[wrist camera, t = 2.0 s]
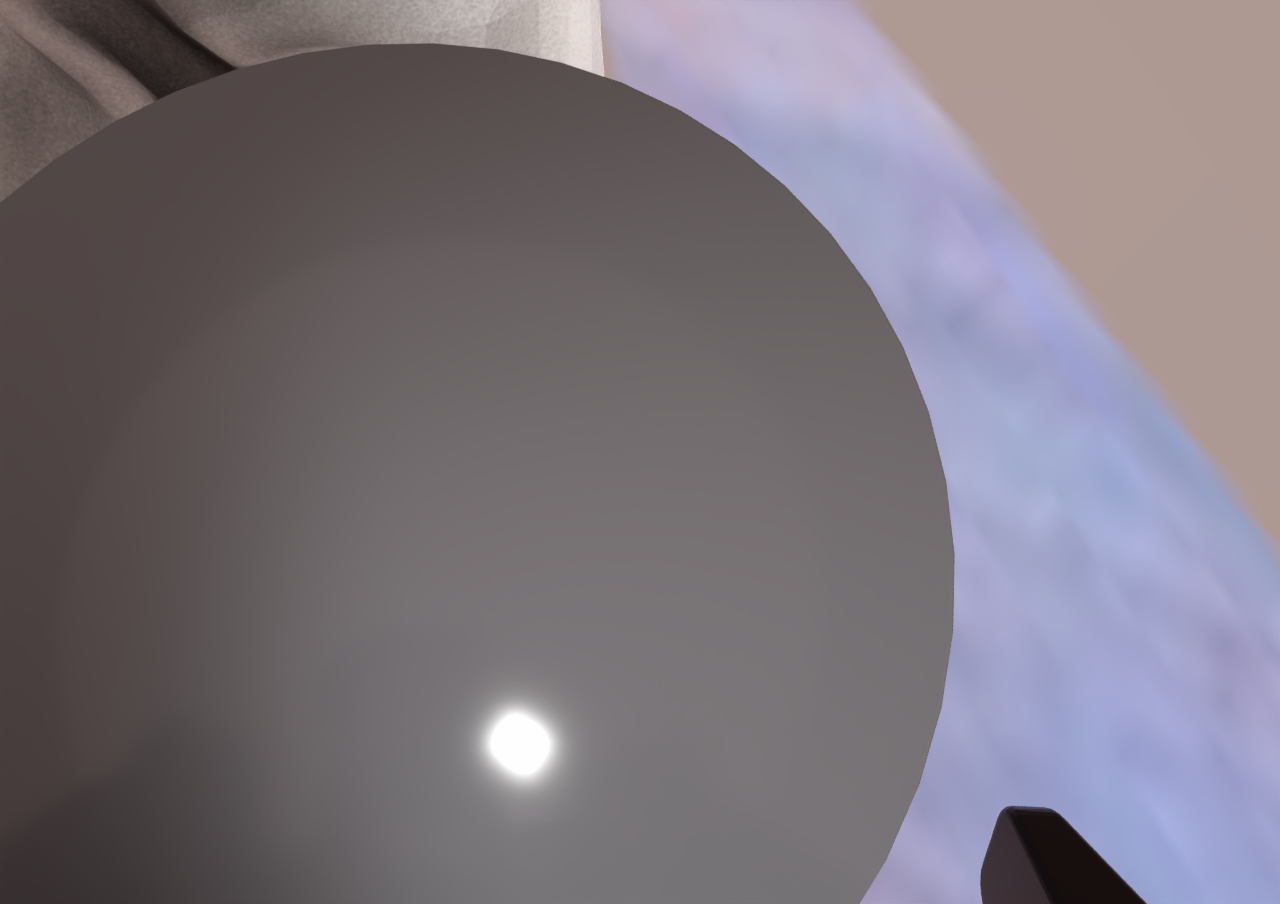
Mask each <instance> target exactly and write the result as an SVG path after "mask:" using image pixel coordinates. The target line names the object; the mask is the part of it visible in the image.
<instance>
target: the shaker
mask: <svg viewBox="0 0 1280 904" xmlns="http://www.w3.org/2000/svg"><path fill="white" fill-rule="evenodd" d="M953 608H954V546H953V538H952V529H951V520H950V512H949V503H948V494H947V485H946V479H945V475H944V471H943V467H942V463H941V459H940V455H939V451H938V447H937V443H936V439H935V435H934V431H933V427H932V423H931V419H930V415H929V411H928V409H927V406H926V404H925V401H924V399H923V396H922V394H921V391H920V389H919V386H918V384H917V381H916V379H915V376H914V373H913V371H912V368H911V366H910V363H909V361H908V358H907V356H906V353H905V351H904V348H903V346H902V344H901V342H900V341H899V339H898V337H897V335H896V333H895V332H894V330H893V328H892V326H891V324H890V323H889V321H888V319H887V317H886V315H885V314H884V312H883V310H882V308H881V306H880V304H879V303H878V301H877V299H876V297H875V295H874V294H873V292H872V290H871V288H870V287H869V285H868V284H867V283H866V281H865V280H864V278H863V277H862V276H861V274H860V273H859V272H858V270H857V269H856V268H855V266H854V265H853V264H852V262H851V261H850V259H849V258H848V257H847V255H846V254H845V253H844V251H843V250H842V249H841V247H840V246H839V244H838V243H837V242H836V240H835V239H834V238H833V236H832V235H831V234H830V233H829V231H828V230H827V229H826V228H825V227H824V226H823V225H822V224H821V223H820V222H819V221H818V220H817V219H816V218H815V217H814V216H813V215H812V214H811V213H810V212H809V210H808V209H807V208H806V207H805V206H804V205H803V204H802V203H801V202H800V201H799V200H798V199H797V198H796V197H795V196H794V195H793V194H792V193H791V192H790V191H789V189H788V188H787V187H786V186H785V185H783V184H782V183H781V182H780V181H779V180H777V179H776V178H775V177H774V176H772V175H771V174H770V173H769V172H768V171H766V170H765V169H764V168H763V167H761V166H760V165H759V164H758V163H756V162H755V161H754V160H753V159H752V158H750V157H749V156H748V155H747V154H745V153H744V152H743V151H742V150H741V149H739V148H738V147H737V146H736V145H734V144H733V143H731V142H730V141H728V140H726V139H725V138H723V137H722V136H720V135H719V134H717V133H715V132H714V131H712V130H711V129H709V128H707V127H706V126H704V125H703V124H701V123H699V122H698V121H696V120H695V119H693V118H692V117H690V116H688V115H687V114H685V113H684V112H682V111H680V110H678V109H676V108H674V107H672V106H670V105H668V104H666V103H664V102H662V101H659V100H657V99H655V98H653V97H651V96H649V95H647V94H645V93H642V92H640V91H638V90H636V89H634V88H632V87H630V86H628V85H625V84H623V83H621V82H618V81H615V80H612V79H609V78H606V77H603V76H600V75H597V74H594V73H591V72H588V71H585V70H582V69H579V68H576V67H573V66H570V65H567V64H564V63H561V62H557V61H552V60H547V59H542V58H537V57H533V56H528V55H523V54H518V53H514V52H509V51H504V50H499V49H490V48H479V47H469V46H458V45H447V44H436V43H420V44H370V45H361V46H353V47H346V48H338V49H330V50H323V51H315V52H308V53H301V54H297V55H293V56H289V57H285V58H281V59H277V60H273V61H269V62H264V63H260V64H256V65H252V66H248V67H244V68H240V69H237V70H234V71H231V72H228V73H226V74H223V75H220V76H217V77H215V78H212V79H209V80H206V81H204V82H201V83H198V84H195V85H193V86H190V87H187V88H184V89H182V90H179V91H176V92H174V93H172V94H170V95H167V96H165V97H163V98H161V99H159V100H157V101H155V102H153V103H151V104H149V105H147V106H145V107H143V108H141V109H139V110H137V111H135V112H133V113H131V114H129V115H127V116H125V117H123V118H121V119H119V120H117V121H115V122H113V123H111V124H109V125H108V126H106V127H105V128H103V129H102V130H100V131H98V132H97V133H95V134H94V135H92V136H91V137H89V138H87V139H86V140H84V141H83V142H81V143H79V144H78V145H76V146H75V147H73V148H72V149H70V150H68V151H67V152H65V153H64V154H62V155H61V156H59V157H57V158H56V159H54V160H53V161H52V162H51V163H49V164H48V165H47V166H46V167H44V168H43V169H42V170H41V171H39V172H38V173H37V174H35V175H34V176H33V177H32V178H30V179H29V180H28V181H27V182H25V183H24V184H23V185H22V186H20V187H19V188H18V189H17V190H15V191H14V192H13V193H12V194H10V195H9V196H8V197H7V198H5V199H4V200H3V201H2V202H0V904H860V902H861V900H862V899H863V897H864V895H865V894H866V892H867V890H868V889H869V887H870V886H871V884H872V882H873V881H874V879H875V877H876V876H877V874H878V872H879V871H880V869H881V867H882V866H883V864H884V863H885V861H886V859H887V857H888V854H889V852H890V850H891V848H892V845H893V843H894V841H895V839H896V836H897V834H898V832H899V829H900V827H901V825H902V823H903V820H904V818H905V816H906V813H907V811H908V809H909V807H910V804H911V802H912V800H913V797H914V795H915V793H916V791H917V788H918V786H919V784H920V780H921V777H922V773H923V770H924V766H925V763H926V759H927V756H928V752H929V749H930V745H931V742H932V738H933V735H934V732H935V728H936V725H937V721H938V718H939V714H940V711H941V707H942V701H943V694H944V687H945V681H946V674H947V667H948V661H949V654H950V647H951V641H952V634H953Z"/></svg>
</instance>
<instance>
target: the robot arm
mask: <svg viewBox="0 0 1280 904" xmlns="http://www.w3.org/2000/svg"><path fill="white" fill-rule="evenodd" d="M980 885H981V896H982V902H983V904H1147V903H1146V902H1145V901H1144V900H1143V899H1142V898H1141V897H1140V896H1139V895H1138V894H1137V893H1136V892H1135V891H1134V890H1133V889H1132V888H1131V887H1130V886H1129V885H1128V884H1127V883H1126V882H1125V881H1124V880H1123V879H1122V878H1121V877H1120V876H1119V875H1118V873H1117V872H1116V871H1115V870H1114V869H1113V868H1112V867H1111V866H1110V865H1109V864H1108V863H1107V862H1106V861H1105V860H1104V859H1103V858H1102V857H1101V856H1100V855H1099V854H1098V853H1097V852H1096V851H1095V850H1094V849H1093V848H1092V847H1091V846H1090V845H1089V844H1088V843H1087V841H1086V840H1085V839H1084V838H1083V837H1082V836H1081V835H1080V834H1079V833H1078V832H1077V831H1076V830H1075V829H1074V828H1073V827H1072V826H1071V825H1070V824H1069V823H1068V822H1067V821H1066V820H1065V819H1064V818H1063V817H1062V816H1061V815H1060V814H1059V813H1057V812H1056V811H1054V810H1052V809H1050V808H1045V807H1027V806H1008V807H1006V808H1004V809H1003V810H1002V811H1001V812H1000V814H999V816H998V819H997V822H996V825H995V828H994V831H993V834H992V837H991V840H990V843H989V846H988V849H987V852H986V855H985V859H984V862H983V865H982V869H981V882H980Z"/></svg>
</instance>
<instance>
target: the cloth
mask: <svg viewBox="0 0 1280 904" xmlns="http://www.w3.org/2000/svg"><path fill="white" fill-rule="evenodd" d="M420 43H436V44H447V45H458V46H469V47H479V48H490V49H499V50H504V51H509V52H514V53H518V54H523V55H528V56H533V57H537V58H542V59H547V60H552V61H557V62H561V63H564V64H567V65H570V66H573V67H576V68H579V69H582V70H585V71H588V72H591V73H594V74H597V75H600V76H603V77H605V76H604V65H603V53H602V41H601V10H600V0H0V202H2V201H3V200H4V199H5V198H7V197H8V196H9V195H10V194H12V193H13V192H14V191H15V190H17V189H18V188H19V187H20V186H22V185H23V184H24V183H25V182H27V181H28V180H29V179H30V178H32V177H33V176H34V175H35V174H37V173H38V172H39V171H41V170H42V169H43V168H44V167H46V166H47V165H48V164H49V163H51V162H52V161H53V160H54V159H56V158H57V157H59V156H61V155H62V154H64V153H65V152H67V151H68V150H70V149H72V148H73V147H75V146H76V145H78V144H79V143H81V142H83V141H84V140H86V139H87V138H89V137H91V136H92V135H94V134H95V133H97V132H98V131H100V130H102V129H103V128H105V127H106V126H108V125H109V124H111V123H113V122H115V121H117V120H119V119H121V118H123V117H125V116H127V115H129V114H131V113H133V112H135V111H137V110H139V109H141V108H143V107H145V106H147V105H149V104H151V103H153V102H155V101H157V100H159V99H161V98H163V97H165V96H167V95H170V94H172V93H174V92H176V91H179V90H182V89H184V88H187V87H190V86H193V85H195V84H198V83H201V82H204V81H206V80H209V79H212V78H215V77H217V76H220V75H223V74H226V73H228V72H231V71H234V70H237V69H240V68H244V67H248V66H252V65H256V64H260V63H264V62H269V61H273V60H277V59H281V58H285V57H289V56H293V55H297V54H301V53H308V52H315V51H323V50H330V49H338V48H346V47H353V46H361V45H370V44H420Z"/></svg>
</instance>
